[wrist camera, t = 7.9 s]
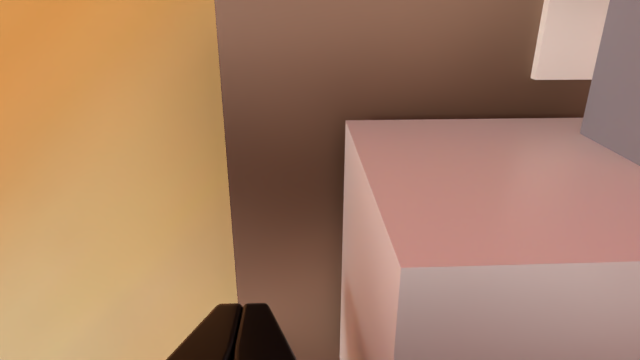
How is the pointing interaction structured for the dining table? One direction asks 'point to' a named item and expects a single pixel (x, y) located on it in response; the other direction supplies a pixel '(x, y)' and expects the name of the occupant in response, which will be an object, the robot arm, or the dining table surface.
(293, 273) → the gauge board
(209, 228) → the dining table surface
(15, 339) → the dining table surface
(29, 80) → the dining table surface
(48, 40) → the dining table surface
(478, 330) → the pink rectangular block
